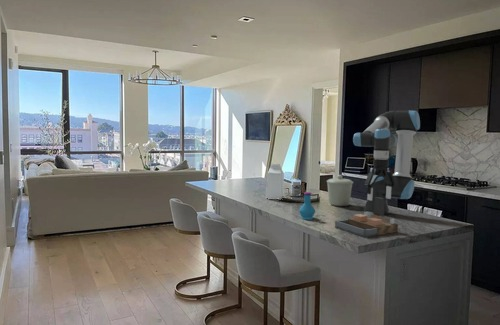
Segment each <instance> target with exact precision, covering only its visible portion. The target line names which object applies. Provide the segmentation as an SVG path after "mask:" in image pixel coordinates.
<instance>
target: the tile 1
mask: <svg viewBox="0 0 500 325" xmlns="http://www.w3.org/2000/svg"><path fill="white" fill-rule="evenodd" d="M352 218H353V220H357V221H367V216H366V215H364V214H361V213H357V214H353V217H352Z"/></svg>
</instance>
